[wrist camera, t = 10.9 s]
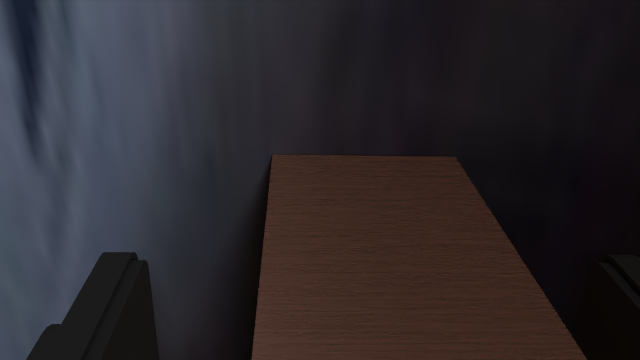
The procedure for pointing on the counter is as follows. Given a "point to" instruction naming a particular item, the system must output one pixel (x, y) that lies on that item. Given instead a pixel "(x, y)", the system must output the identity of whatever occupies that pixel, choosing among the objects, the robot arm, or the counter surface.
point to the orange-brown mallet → (394, 267)
